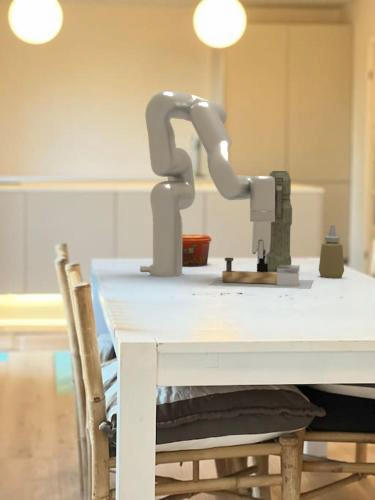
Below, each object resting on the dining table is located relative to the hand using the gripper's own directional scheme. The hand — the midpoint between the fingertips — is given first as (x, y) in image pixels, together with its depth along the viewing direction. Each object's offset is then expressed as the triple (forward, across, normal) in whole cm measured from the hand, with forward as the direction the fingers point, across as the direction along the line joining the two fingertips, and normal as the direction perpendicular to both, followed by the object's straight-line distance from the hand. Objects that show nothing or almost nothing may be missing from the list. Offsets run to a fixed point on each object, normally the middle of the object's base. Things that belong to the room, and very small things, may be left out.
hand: (262, 276), depth 266 cm
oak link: (+1, +3, -1) cm, 4 cm away
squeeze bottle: (+4, -17, +21) cm, 27 cm away
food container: (+3, -53, -31) cm, 62 cm away
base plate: (+3, +2, 0) cm, 3 cm away
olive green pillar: (+3, -27, +3) cm, 27 cm away
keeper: (+2, +3, +8) cm, 9 cm away
